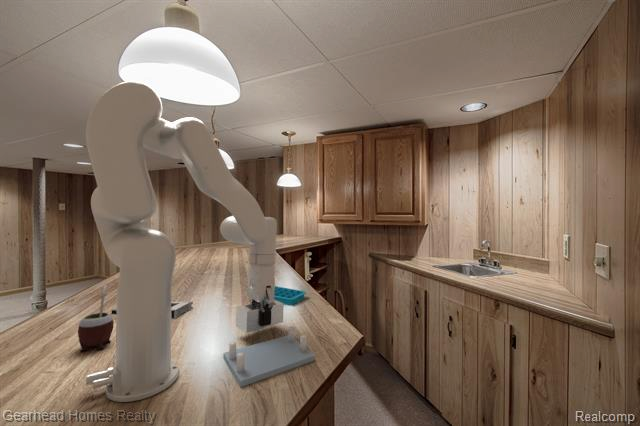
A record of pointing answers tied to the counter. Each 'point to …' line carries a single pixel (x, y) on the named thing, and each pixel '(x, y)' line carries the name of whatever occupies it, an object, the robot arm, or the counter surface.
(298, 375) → the counter surface
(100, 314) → the mate gourd
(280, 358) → the pin tray
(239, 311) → the block
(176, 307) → the graphics card
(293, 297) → the ice cube tray
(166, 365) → the robot arm
